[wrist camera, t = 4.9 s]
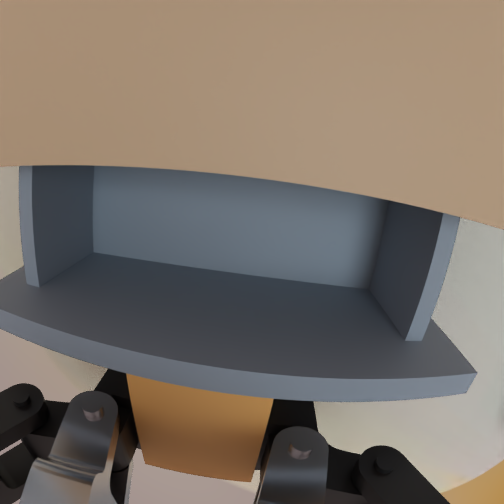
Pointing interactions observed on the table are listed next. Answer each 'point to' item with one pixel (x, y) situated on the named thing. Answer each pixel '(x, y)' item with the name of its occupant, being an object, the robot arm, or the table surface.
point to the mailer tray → (230, 299)
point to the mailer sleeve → (266, 93)
